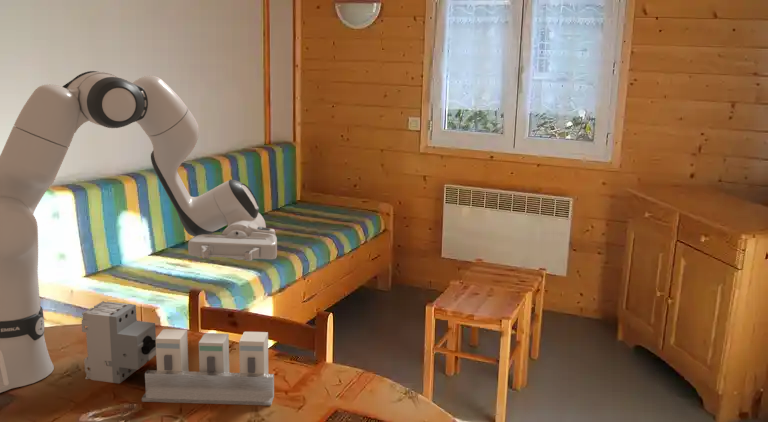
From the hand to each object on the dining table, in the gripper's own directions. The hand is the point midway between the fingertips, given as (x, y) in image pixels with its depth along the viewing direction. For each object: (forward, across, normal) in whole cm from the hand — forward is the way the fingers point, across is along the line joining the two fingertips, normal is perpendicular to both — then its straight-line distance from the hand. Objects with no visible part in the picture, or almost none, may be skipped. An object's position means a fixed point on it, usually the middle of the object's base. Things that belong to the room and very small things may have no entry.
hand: (226, 256), depth 156 cm
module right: (+14, +9, +25) cm, 30 cm away
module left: (+14, -8, +25) cm, 30 cm away
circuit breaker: (+9, -20, +25) cm, 34 cm away
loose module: (+13, 0, +25) cm, 28 cm away
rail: (+18, 0, +25) cm, 31 cm away
